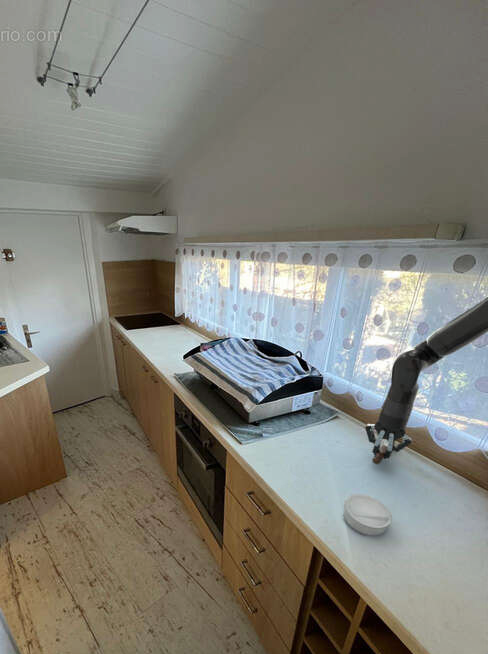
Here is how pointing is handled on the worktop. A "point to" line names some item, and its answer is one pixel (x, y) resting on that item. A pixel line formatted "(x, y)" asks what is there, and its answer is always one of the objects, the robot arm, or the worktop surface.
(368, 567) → the worktop surface
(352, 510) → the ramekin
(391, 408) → the robot arm
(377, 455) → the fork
